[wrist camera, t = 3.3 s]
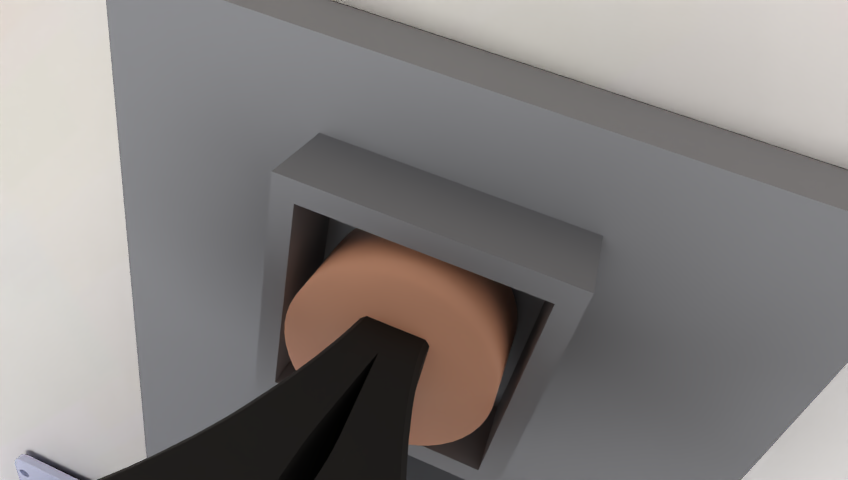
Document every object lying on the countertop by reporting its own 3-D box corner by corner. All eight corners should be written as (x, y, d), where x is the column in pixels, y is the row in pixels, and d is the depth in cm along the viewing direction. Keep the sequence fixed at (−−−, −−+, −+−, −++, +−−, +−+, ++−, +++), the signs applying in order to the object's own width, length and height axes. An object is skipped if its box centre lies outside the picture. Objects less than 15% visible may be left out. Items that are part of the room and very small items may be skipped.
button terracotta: (485, 406, 14) (462, 474, 13) (318, 336, 15) (276, 393, 14) (546, 263, 12) (527, 327, 10) (341, 186, 13) (294, 235, 11)
